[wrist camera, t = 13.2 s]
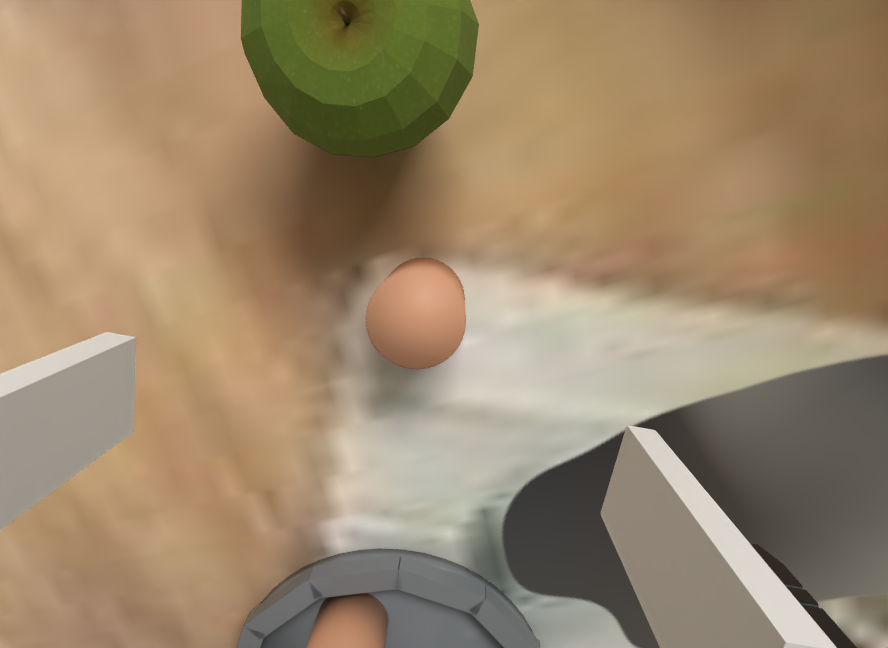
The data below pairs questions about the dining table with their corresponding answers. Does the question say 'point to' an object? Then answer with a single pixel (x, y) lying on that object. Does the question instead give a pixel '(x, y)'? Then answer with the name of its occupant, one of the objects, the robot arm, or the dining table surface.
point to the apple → (361, 67)
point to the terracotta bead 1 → (350, 623)
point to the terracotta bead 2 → (417, 314)
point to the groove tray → (393, 603)
